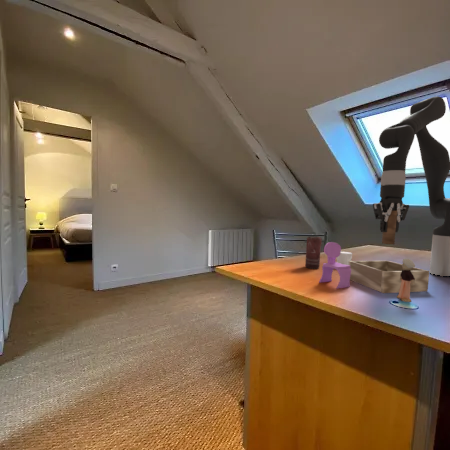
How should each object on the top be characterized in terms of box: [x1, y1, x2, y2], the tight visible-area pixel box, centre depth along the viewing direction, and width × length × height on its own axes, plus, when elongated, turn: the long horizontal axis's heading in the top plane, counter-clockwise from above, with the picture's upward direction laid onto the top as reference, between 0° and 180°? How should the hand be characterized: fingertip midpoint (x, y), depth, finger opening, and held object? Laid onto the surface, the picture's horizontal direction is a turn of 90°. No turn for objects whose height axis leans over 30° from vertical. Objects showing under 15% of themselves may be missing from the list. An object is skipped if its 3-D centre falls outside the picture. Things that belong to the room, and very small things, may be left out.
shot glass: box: [336, 250, 353, 265], centre depth 133 cm, size 7×7×7 cm
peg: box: [381, 211, 397, 245], centre depth 102 cm, size 4×4×12 cm
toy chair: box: [318, 241, 351, 289], centre depth 101 cm, size 8×9×15 cm
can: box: [304, 236, 323, 270], centre depth 129 cm, size 6×6×14 cm
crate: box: [349, 260, 430, 294], centre depth 104 cm, size 18×18×7 cm
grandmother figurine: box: [396, 258, 416, 303], centre depth 86 cm, size 8×4×13 cm, turn 5°
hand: (388, 231), depth 103 cm, fingers closed on peg, 4 cm apart
